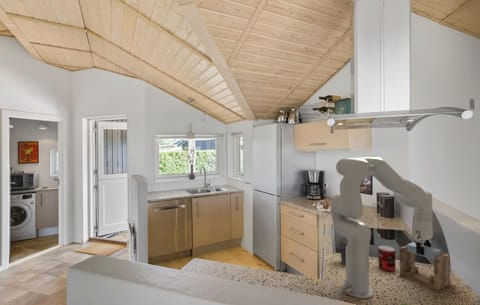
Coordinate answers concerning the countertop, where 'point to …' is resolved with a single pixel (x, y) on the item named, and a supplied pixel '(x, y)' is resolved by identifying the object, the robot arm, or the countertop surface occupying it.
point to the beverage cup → (343, 248)
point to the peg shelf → (412, 272)
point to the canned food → (386, 258)
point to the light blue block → (428, 251)
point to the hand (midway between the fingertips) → (423, 252)
